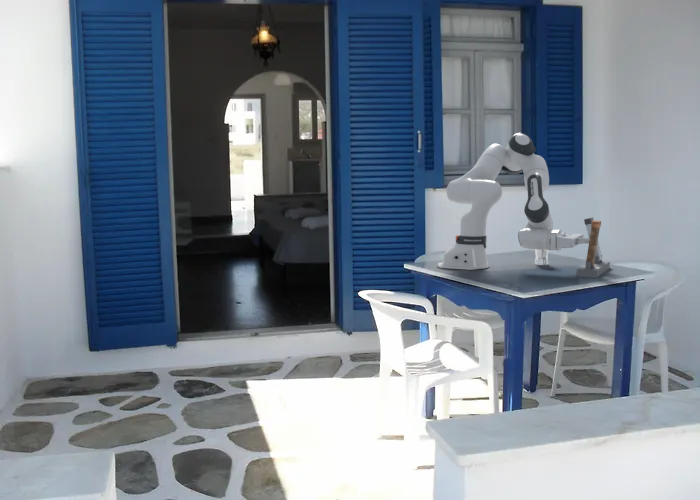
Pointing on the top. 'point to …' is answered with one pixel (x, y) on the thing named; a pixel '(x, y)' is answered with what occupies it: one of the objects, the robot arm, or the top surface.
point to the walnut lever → (593, 241)
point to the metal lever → (588, 226)
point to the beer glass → (541, 257)
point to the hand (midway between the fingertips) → (590, 241)
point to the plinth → (593, 268)
